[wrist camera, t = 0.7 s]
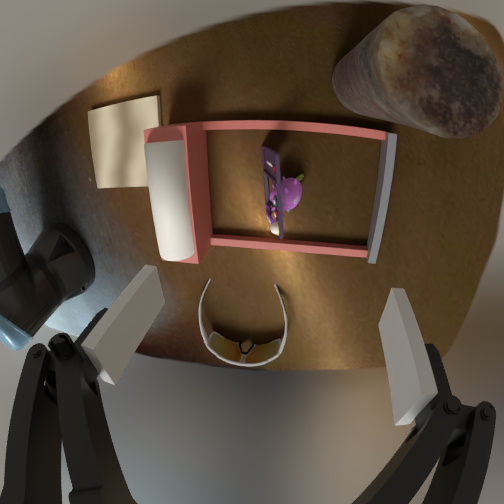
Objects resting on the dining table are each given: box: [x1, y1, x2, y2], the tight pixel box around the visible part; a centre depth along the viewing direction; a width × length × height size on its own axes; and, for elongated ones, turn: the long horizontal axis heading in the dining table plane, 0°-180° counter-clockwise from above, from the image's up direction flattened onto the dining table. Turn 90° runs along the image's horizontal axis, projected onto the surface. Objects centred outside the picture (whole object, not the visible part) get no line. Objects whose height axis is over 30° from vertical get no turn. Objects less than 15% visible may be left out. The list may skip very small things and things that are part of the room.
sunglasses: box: [199, 279, 287, 366], centre depth 43 cm, size 14×15×5 cm
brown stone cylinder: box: [332, 5, 503, 139], centre depth 16 cm, size 8×7×20 cm
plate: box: [88, 95, 162, 188], centre depth 32 cm, size 12×12×1 cm
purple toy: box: [261, 146, 304, 239], centre depth 29 cm, size 7×5×9 cm
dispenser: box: [143, 120, 397, 264], centre depth 29 cm, size 26×16×8 cm, turn 91°
